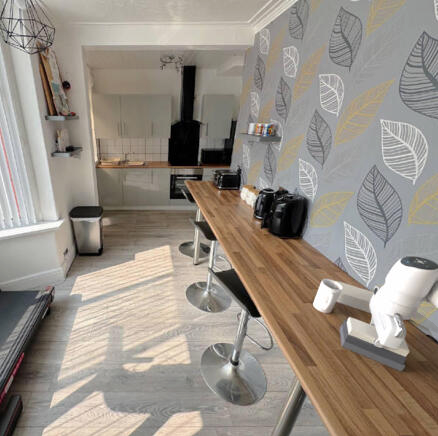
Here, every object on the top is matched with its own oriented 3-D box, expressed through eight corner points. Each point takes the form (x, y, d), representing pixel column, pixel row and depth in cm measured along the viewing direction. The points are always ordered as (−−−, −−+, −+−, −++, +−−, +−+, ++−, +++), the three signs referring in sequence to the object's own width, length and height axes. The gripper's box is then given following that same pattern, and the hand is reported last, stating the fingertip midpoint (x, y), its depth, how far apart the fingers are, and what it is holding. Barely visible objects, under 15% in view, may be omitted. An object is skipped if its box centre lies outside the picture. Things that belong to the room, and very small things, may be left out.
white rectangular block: (374, 302, 100) (379, 293, 98) (378, 316, 93) (384, 306, 91) (331, 288, 108) (335, 280, 106) (332, 300, 101) (337, 291, 99)
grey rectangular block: (393, 350, 80) (400, 339, 78) (401, 371, 73) (409, 361, 71) (339, 328, 87) (344, 318, 85) (341, 346, 80) (347, 336, 78)
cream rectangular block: (399, 341, 77) (403, 336, 76) (405, 356, 72) (409, 351, 71) (346, 321, 84) (349, 316, 83) (348, 334, 79) (351, 329, 78)
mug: (312, 299, 101) (321, 276, 96) (331, 305, 98) (341, 282, 93) (312, 314, 93) (322, 290, 88) (333, 322, 90) (344, 297, 85)
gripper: (420, 333, 63) (396, 367, 68) (398, 290, 78) (380, 321, 84) (388, 322, 66) (368, 355, 71) (374, 283, 81) (358, 313, 87)
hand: (374, 336), depth 78 cm, fingers closed on cream rectangular block, 6 cm apart
